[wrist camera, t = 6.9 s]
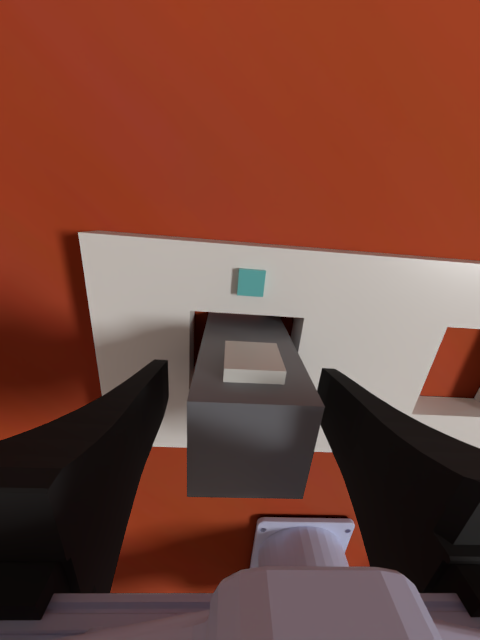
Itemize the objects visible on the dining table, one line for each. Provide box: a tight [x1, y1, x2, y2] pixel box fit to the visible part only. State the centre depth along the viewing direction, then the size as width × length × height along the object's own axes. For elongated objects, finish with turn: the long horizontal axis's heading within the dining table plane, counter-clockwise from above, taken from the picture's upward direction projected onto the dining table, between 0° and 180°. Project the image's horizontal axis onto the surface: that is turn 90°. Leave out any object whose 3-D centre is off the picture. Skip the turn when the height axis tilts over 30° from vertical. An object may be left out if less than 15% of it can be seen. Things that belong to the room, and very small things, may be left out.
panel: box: [78, 231, 480, 452], centre depth 14 cm, size 12×28×2 cm, turn 86°
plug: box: [187, 312, 325, 499], centre depth 11 cm, size 4×4×8 cm
